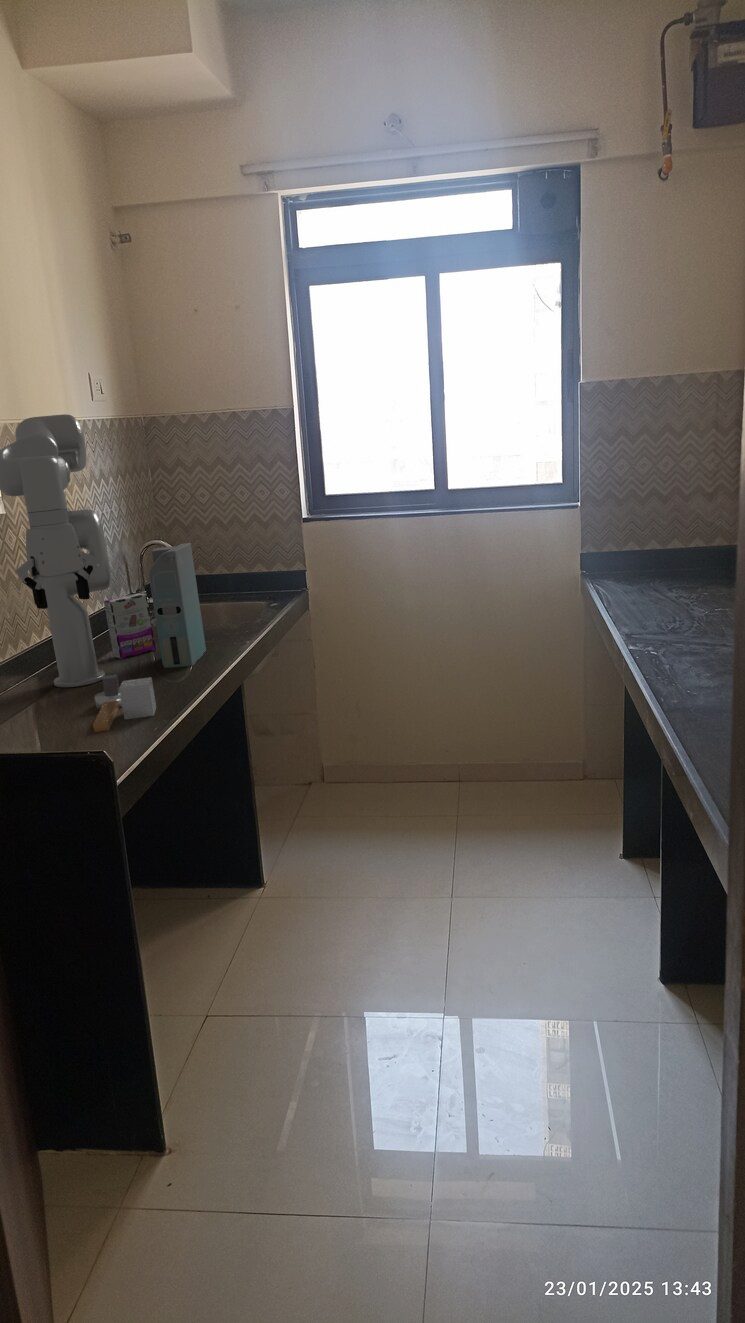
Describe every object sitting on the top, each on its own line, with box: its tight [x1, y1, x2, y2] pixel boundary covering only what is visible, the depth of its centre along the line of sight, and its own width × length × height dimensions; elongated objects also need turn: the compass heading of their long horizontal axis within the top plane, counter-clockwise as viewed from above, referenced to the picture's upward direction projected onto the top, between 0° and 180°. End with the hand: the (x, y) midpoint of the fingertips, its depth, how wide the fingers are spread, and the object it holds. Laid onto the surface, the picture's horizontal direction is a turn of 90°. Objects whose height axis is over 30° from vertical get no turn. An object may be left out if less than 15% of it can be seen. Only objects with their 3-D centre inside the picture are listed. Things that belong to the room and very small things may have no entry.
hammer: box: [92, 674, 123, 733], centre depth 203 cm, size 24×8×6 cm, turn 8°
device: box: [148, 542, 207, 669], centre depth 245 cm, size 16×8×30 cm, turn 177°
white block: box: [119, 676, 157, 720], centre depth 201 cm, size 6×6×7 cm
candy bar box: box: [103, 592, 157, 660], centre depth 259 cm, size 11×5×16 cm, turn 131°
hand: (63, 603), depth 189 cm, fingers open, 9 cm apart
